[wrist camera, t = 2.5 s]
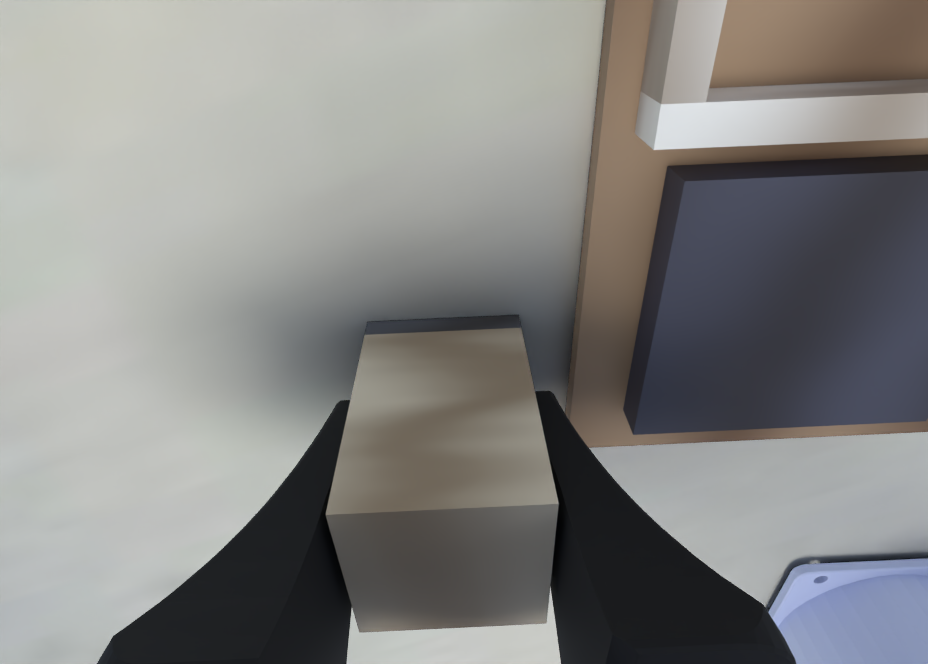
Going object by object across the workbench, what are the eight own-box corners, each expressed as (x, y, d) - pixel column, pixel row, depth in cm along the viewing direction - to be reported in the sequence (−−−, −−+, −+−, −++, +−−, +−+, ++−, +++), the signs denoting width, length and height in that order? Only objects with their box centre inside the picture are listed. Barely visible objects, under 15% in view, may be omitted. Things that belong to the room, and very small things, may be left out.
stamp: (518, 314, 14) (558, 503, 9) (515, 424, 16) (546, 623, 11) (367, 322, 14) (325, 514, 9) (385, 430, 16) (359, 632, 11)
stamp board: (1708, -893, 6) (2147, -1190, 4) (914, 417, 17) (959, 462, 15) (692, -858, 6) (778, -1149, 4) (563, 434, 17) (574, 480, 15)
